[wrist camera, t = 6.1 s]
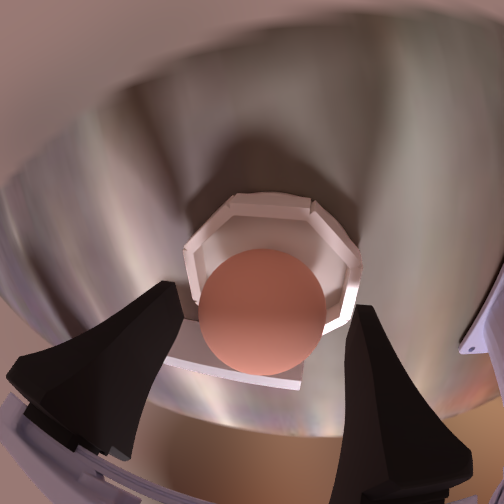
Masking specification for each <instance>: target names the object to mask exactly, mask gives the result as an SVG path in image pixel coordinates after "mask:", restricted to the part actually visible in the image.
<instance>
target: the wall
mask: <svg viewBox="0 0 504 504" xmlns="http://www.w3.org/2000/svg"><path fill="white" fill-rule="evenodd" d="M163 364H167V365H170V366H174V367H178V368H182V369H186V370H190V371H194V372H198V373H202V374H206V375H211V376H215V377H220V378H225V379H230V380H235V381H240V382H246V383H251V384H257V385H263V386H270V387H277V388H284V389H292V390H300V385H301V380H302V373H303V366H304V361H302V362H301V363H300V364H298V365H297V366H295V367H293V368H292V369H290V370H287V371H285V372H282V373H278V374H274V375H262V376H260V375H250V374H246V373H242V372H239V371H237V370H235V369H233V368H231V367H229V366H228V365H226V364H225V363H223V362H222V361H221V360H220V359H218V358H217V356H216V355H215V354H214V353H213V352H212V351H211V350H210V348H209V347H208V345H207V343H206V342H205V340H204V337H203V335H202V332H201V329H200V324H199V322H198V321H193V320H188V319H183V322H182V325H181V327H180V330H179V333H178V335H177V338H176V340H175V342H174V344H173V345H172V347H171V349H170V351H169V353H168V355H167V357H166V359H165V360H164V362H163Z"/></svg>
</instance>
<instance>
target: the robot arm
mask: <svg viewBox="0 0 504 504" xmlns="http://www.w3.org/2000/svg"><path fill="white" fill-rule="evenodd" d="M183 319H184V315H183V312H182V308H181V304H180V300H179V297H178V293H177V289H176V285H175V282H169V281H161V282H159V283H158V284H156V285H155V286H153V287H152V288H151V289H149V290H148V291H147V292H145V293H144V294H142V295H141V296H140V297H138V298H137V299H136V300H134V301H133V302H131V303H130V304H129V305H127V306H126V307H125V308H123V309H122V310H120V311H119V312H117V313H116V314H114V315H113V316H111V317H110V318H108V319H107V320H105V321H104V322H102V323H101V324H99V325H97V326H96V327H94V328H92V329H90V330H88V331H87V332H85V333H83V334H81V335H79V336H77V337H75V338H73V339H70V340H68V341H66V342H64V343H62V344H59V345H57V346H54V347H51V348H48V349H46V350H43V351H39V352H36V353H32V354H28V355H25V356H20V357H19V358H18V359H17V361H16V362H15V364H14V365H13V366H12V368H11V369H10V370H9V372H8V373H7V375H6V378H7V380H8V381H9V382H10V383H11V384H12V385H13V386H14V387H15V388H16V389H17V390H18V391H19V392H20V393H21V394H22V395H23V396H24V397H25V398H26V399H27V400H28V401H29V402H30V403H29V405H28V406H27V405H25V404H24V403H23V402H22V401H21V400H20V399H18V398H17V397H16V396H15V395H14V394H13V393H11V392H10V393H9V394H8V396H7V398H6V399H5V401H4V402H3V404H2V405H1V407H0V442H1V443H2V445H3V446H4V447H5V448H6V450H7V451H8V452H9V453H10V455H11V456H12V457H13V459H14V460H15V461H16V463H17V464H18V465H19V467H20V468H21V469H22V470H23V471H24V472H25V474H26V475H27V476H28V477H29V479H30V480H31V481H32V482H33V483H34V484H35V485H36V486H37V487H38V489H39V490H40V491H41V492H42V493H43V494H44V495H45V496H46V497H47V498H48V499H49V500H50V501H51V502H52V503H53V504H140V503H141V501H142V500H141V499H140V498H139V497H137V496H135V495H133V494H131V493H129V492H127V491H125V490H123V489H120V488H118V487H116V486H114V485H112V484H110V483H108V482H106V481H105V479H104V476H103V475H105V476H106V477H108V478H110V479H112V480H114V481H116V482H118V483H120V484H122V485H124V486H126V487H128V488H130V489H132V490H134V491H136V492H138V493H140V494H143V495H145V496H147V497H149V498H152V499H154V500H157V501H159V502H162V503H165V504H215V503H211V502H208V501H204V500H201V499H197V498H194V497H191V496H188V495H184V494H182V493H179V492H176V491H173V490H170V489H168V488H165V487H162V486H160V485H157V484H155V483H152V482H150V481H148V480H145V479H143V478H141V477H138V476H136V475H134V474H132V473H130V472H128V471H126V470H124V469H122V468H119V467H117V466H115V465H114V464H112V463H110V462H108V461H106V460H104V459H102V458H101V457H99V456H98V454H99V453H101V454H103V455H105V456H107V455H108V454H110V455H112V456H114V457H116V458H118V459H120V460H122V461H128V460H130V459H131V454H132V449H133V444H134V440H135V435H136V431H137V428H138V424H139V420H140V417H141V414H142V411H143V408H144V405H145V402H146V399H147V397H148V394H149V391H150V389H151V386H152V384H153V382H154V380H155V377H156V376H157V374H158V372H159V370H160V368H161V366H162V364H163V362H164V360H165V359H166V357H167V355H168V353H169V351H170V349H171V347H172V345H173V344H174V342H175V340H176V338H177V335H178V333H179V330H180V327H181V325H182V322H183ZM458 349H459V353H460V354H475V353H489V356H490V359H491V362H492V365H493V368H494V371H495V375H496V378H497V382H498V385H499V389H500V393H501V397H502V401H503V405H504V264H503V266H502V268H501V270H500V273H499V275H498V277H497V279H496V281H495V283H494V285H493V288H492V290H491V292H490V294H489V296H488V297H487V299H486V301H485V303H484V305H483V307H482V309H481V310H480V312H479V314H478V316H477V318H476V319H475V321H474V323H473V324H472V326H471V328H470V329H469V331H468V333H467V334H466V336H465V337H464V339H463V340H462V342H461V344H460V345H459V347H458ZM344 367H345V425H344V433H343V441H342V447H341V453H340V459H339V464H338V469H337V474H336V478H335V483H334V487H333V490H332V494H331V498H330V502H329V504H444V501H445V498H448V496H449V488H452V487H454V486H456V485H459V484H461V483H463V482H465V481H467V480H469V479H470V478H471V477H472V476H473V460H472V453H471V450H470V449H469V448H467V447H466V446H465V445H464V444H463V443H462V442H461V441H460V440H459V439H458V438H457V437H456V436H455V435H454V434H453V433H452V432H451V431H450V430H449V429H448V428H447V427H446V426H445V425H444V423H443V422H442V421H441V420H440V419H439V417H438V416H437V415H436V414H435V412H434V411H433V410H432V409H431V407H430V406H429V405H428V404H427V402H426V401H425V400H424V398H423V397H422V395H421V394H420V393H419V391H418V390H417V388H416V387H415V385H414V384H413V382H412V380H411V379H410V377H409V376H408V374H407V372H406V371H405V369H404V367H403V365H402V364H401V362H400V360H399V358H398V357H397V355H396V353H395V351H394V349H393V347H392V345H391V343H390V341H389V340H388V338H387V336H386V333H385V331H384V329H383V327H382V325H381V323H380V321H379V319H378V317H377V314H376V312H375V310H374V308H373V307H372V306H370V305H358V304H356V308H355V311H354V315H353V318H352V321H351V325H350V328H349V331H348V335H347V338H346V346H345V361H344ZM503 477H504V467H503ZM447 504H477V495H473V496H471V497H467V498H464V499H461V500H458V501H454V502H451V503H447ZM489 504H504V479H503V480H502V481H501V483H500V484H499V485H498V487H497V488H496V490H495V492H494V493H493V495H492V497H491V499H490V501H489Z"/></svg>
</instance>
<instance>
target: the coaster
mask: <svg viewBox="0 0 504 504" xmlns="http://www.w3.org/2000/svg"><path fill="white" fill-rule="evenodd" d="M252 249H272V250H277V251H281V252H284V253H287V254H290V255H291V256H293V257H295V258H297V259H298V260H300V261H301V262H303V263H304V264H305V265H306V266H307V267H308V268H309V269H310V270H311V271H312V272H313V273H314V275H315V276H316V278H317V279H318V281H319V283H320V285H321V287H322V290H323V293H324V296H325V300H326V311H327V314H326V323H325V328H324V331H323V334H325V333H327V332H329V331H331V330H333V329H335V328H337V327H339V326H341V325H343V324H345V323H347V322H348V320H350V317H351V314H352V310H353V307H354V303H355V299H356V295H357V291H358V287H359V283H360V279H361V275H362V271H363V264H362V258H361V254H360V250H359V249H358V248H357V247H356V245H355V244H354V243H353V242H352V241H351V240H350V238H349V237H348V235H347V233H346V231H345V230H344V228H343V227H342V226H341V224H340V223H339V222H338V221H337V220H336V219H335V218H334V217H333V216H332V215H331V214H330V213H329V212H327V211H326V210H325V209H323V208H322V207H321V206H320V205H319V203H318V202H317V201H316V200H315V201H314V202H312V201H311V198H306V197H300V196H296V195H292V194H288V193H282V192H256V193H250V194H243V193H237V194H236V195H235V196H234V195H232V196H231V197H230V198H229V199H228V200H227V201H226V202H225V203H224V204H223V205H222V206H221V207H220V208H219V209H218V210H216V211H215V212H214V213H213V214H212V216H211V217H210V218H209V219H208V220H207V221H206V222H205V223H204V224H203V225H202V226H201V227H200V228H199V229H198V230H197V231H196V232H195V233H194V234H193V235H192V237H191V238H190V239H189V240H188V242H187V243H186V244H185V246H184V249H183V255H184V260H185V265H186V270H187V274H188V279H189V284H190V289H191V293H192V298H193V300H196V302H195V303H196V304H197V305H198V306H199V301H200V296H201V292H202V290H203V287H204V285H205V283H206V281H207V280H208V278H209V277H210V275H211V274H212V272H213V271H214V270H215V269H216V268H217V267H218V266H219V265H220V264H221V263H223V262H224V261H226V260H227V259H228V258H230V257H232V256H234V255H236V254H238V253H241V252H244V251H247V250H252ZM323 334H322V335H323Z"/></svg>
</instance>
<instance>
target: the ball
mask: <svg viewBox="0 0 504 504" xmlns="http://www.w3.org/2000/svg"><path fill="white" fill-rule="evenodd" d="M326 314H327V311H326V300H325V296H324V293H323V290H322V287H321V285H320V283H319V281H318V279H317V278H316V276H315V275H314V273H313V272H312V271H311V270H310V269H309V268H308V267H307V266H306V265H305V264H304V263H303V262H301V261H300V260H298V259H297V258H295V257H293V256H291V255H290V254H287V253H284V252H281V251H277V250H272V249H252V250H247V251H244V252H241V253H238V254H236V255H234V256H232V257H230V258H228V259H227V260H226V261H224V262H223V263H221V264H220V265H219V266H218V267H217V268H216V269H215V270H214V271H213V272H212V274H211V275H210V277H209V278H208V280H207V281H206V283H205V285H204V287H203V290H202V292H201V296H200V301H199V308H198V318H199V324H200V329H201V332H202V335H203V337H204V340H205V342H206V343H207V345H208V347H209V348H210V350H211V351H212V352H213V353H214V354H215V355H216V356H217V358H218V359H220V360H221V361H222V362H223V363H225V364H226V365H228V366H229V367H231V368H233V369H235V370H237V371H239V372H242V373H246V374H250V375H260V376H262V375H274V374H278V373H282V372H285V371H287V370H290V369H292V368H293V367H295V366H297V365H298V364H300V363H301V362H302V361H304V360H305V359H306V358H307V357H308V356H309V355H310V354H311V353H312V351H313V350H314V349H315V348H316V346H317V344H318V343H319V341H320V339H321V337H322V334H323V331H324V328H325V323H326Z"/></svg>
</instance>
